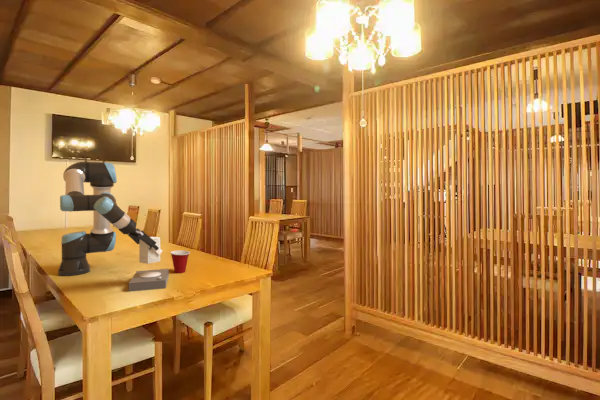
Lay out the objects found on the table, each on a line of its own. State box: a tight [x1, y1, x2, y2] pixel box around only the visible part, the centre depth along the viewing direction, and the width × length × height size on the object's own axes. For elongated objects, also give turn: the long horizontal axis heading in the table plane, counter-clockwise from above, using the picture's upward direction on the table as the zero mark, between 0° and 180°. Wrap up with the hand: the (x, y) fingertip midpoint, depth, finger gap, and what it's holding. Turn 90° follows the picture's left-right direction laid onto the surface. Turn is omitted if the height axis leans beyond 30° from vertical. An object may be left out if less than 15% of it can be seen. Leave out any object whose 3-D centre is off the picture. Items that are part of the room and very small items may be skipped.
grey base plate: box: [128, 268, 170, 292], centre depth 166 cm, size 24×16×5 cm, turn 19°
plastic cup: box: [169, 250, 191, 274], centre depth 188 cm, size 11×11×12 cm
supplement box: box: [138, 236, 161, 265], centre depth 165 cm, size 7×7×13 cm
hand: (156, 252), depth 168 cm, fingers closed on supplement box, 7 cm apart
